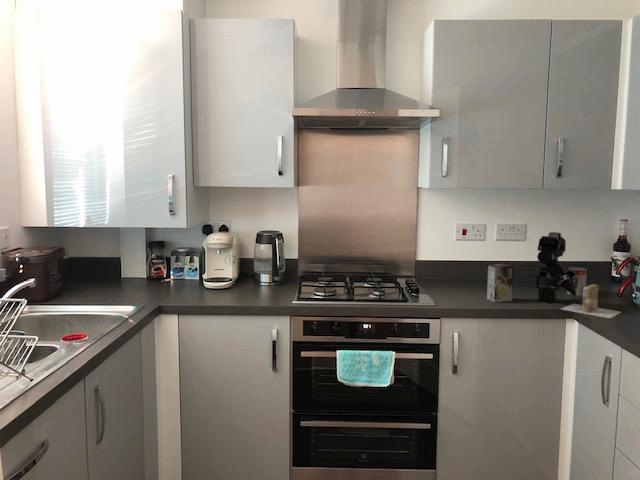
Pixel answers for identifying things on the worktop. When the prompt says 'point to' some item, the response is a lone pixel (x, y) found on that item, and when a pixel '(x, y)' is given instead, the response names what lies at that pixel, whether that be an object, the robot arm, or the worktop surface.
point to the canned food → (579, 279)
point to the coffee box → (500, 282)
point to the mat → (595, 312)
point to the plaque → (590, 298)
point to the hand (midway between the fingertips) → (575, 295)
